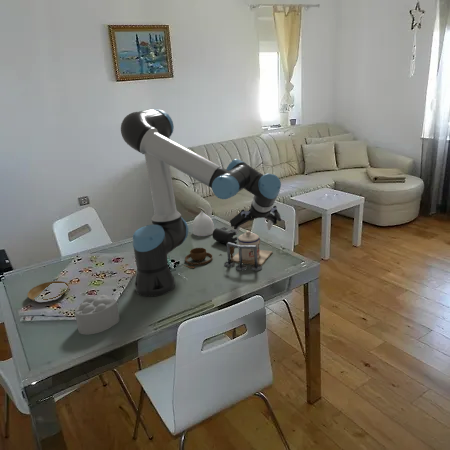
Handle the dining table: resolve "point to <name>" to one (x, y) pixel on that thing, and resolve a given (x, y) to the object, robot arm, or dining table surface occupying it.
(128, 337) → the dining table surface
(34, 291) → the plant saucer
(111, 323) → the lumpy-topped squat cylinder
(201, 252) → the place setting
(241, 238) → the teacup with lid
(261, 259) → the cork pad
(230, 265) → the bent rail
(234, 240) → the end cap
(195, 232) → the teardrop
